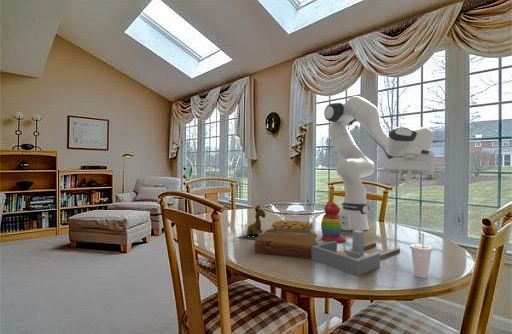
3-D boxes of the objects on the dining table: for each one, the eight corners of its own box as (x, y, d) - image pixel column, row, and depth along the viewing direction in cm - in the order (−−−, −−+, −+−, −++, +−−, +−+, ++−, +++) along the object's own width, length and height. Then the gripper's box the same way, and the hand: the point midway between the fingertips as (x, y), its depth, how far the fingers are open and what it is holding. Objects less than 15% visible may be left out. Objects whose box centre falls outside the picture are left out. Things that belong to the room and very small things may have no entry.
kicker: (341, 257, 111) (341, 231, 111) (355, 252, 116) (355, 227, 116) (359, 263, 104) (359, 235, 104) (373, 258, 110) (373, 231, 109)
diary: (254, 254, 117) (254, 240, 117) (267, 242, 135) (267, 230, 135) (311, 260, 110) (311, 245, 110) (317, 246, 128) (317, 233, 127)
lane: (341, 255, 114) (341, 251, 114) (373, 245, 127) (373, 242, 127) (369, 264, 105) (369, 259, 104) (399, 252, 118) (399, 248, 118)
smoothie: (435, 280, 90) (436, 236, 90) (413, 278, 92) (413, 235, 91) (427, 272, 97) (428, 231, 96) (407, 271, 98) (407, 230, 97)
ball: (328, 259, 104) (334, 246, 106) (335, 264, 107) (341, 252, 108) (340, 263, 100) (345, 250, 102) (347, 269, 103) (352, 256, 104)
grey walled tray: (311, 259, 110) (311, 246, 110) (333, 252, 117) (333, 240, 117) (357, 276, 94) (357, 261, 93) (379, 267, 101) (379, 253, 101)
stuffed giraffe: (263, 241, 134) (262, 207, 134) (231, 238, 143) (231, 206, 143) (277, 235, 148) (277, 204, 148) (248, 232, 157) (247, 203, 157)
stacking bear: (347, 242, 132) (347, 203, 132) (326, 243, 131) (326, 204, 130) (337, 236, 143) (337, 200, 142) (317, 237, 141) (317, 201, 141)
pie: (317, 229, 158) (317, 220, 158) (307, 239, 138) (307, 228, 138) (280, 225, 167) (280, 217, 167) (265, 234, 148) (265, 224, 148)
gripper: (388, 152, 134) (376, 174, 129) (436, 151, 118) (425, 175, 112) (393, 162, 137) (381, 183, 131) (440, 162, 120) (430, 186, 115)
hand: (402, 180), depth 122 cm, fingers closed
